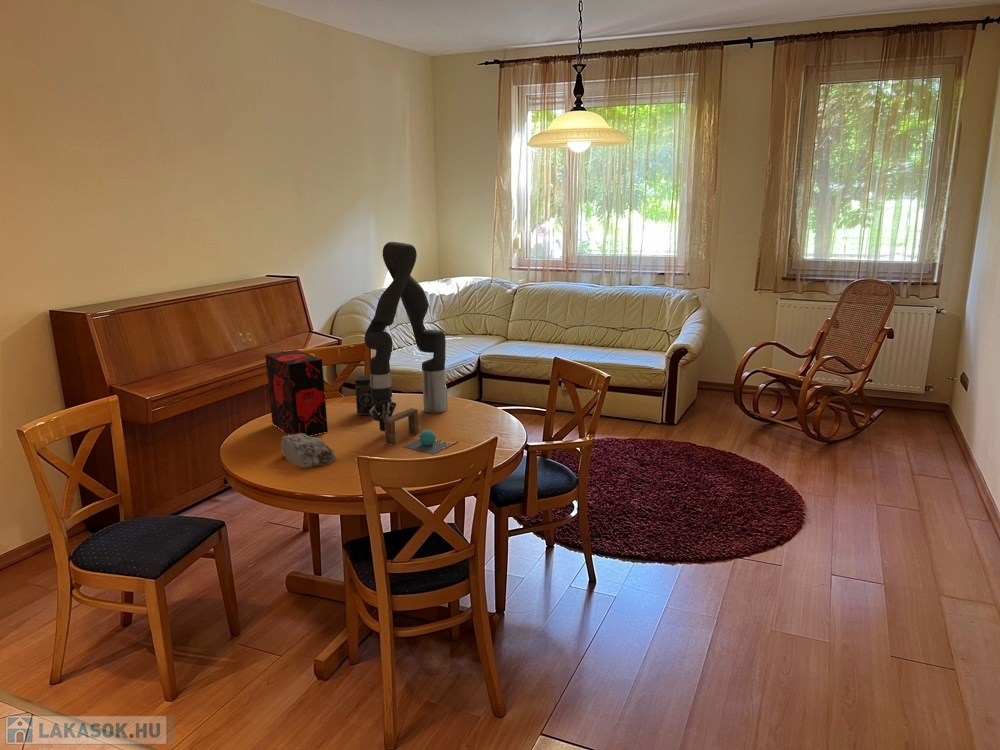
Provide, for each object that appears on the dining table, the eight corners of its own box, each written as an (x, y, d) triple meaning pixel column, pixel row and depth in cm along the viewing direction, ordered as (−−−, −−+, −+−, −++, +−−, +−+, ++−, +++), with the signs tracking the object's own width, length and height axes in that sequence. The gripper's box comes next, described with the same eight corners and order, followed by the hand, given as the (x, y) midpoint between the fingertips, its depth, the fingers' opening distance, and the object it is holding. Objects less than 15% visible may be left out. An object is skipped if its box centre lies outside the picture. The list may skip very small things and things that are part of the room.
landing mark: (427, 435, 253) (427, 435, 253) (458, 442, 246) (458, 441, 246) (402, 447, 242) (402, 446, 242) (434, 454, 234) (434, 453, 234)
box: (272, 424, 270) (265, 354, 263) (303, 418, 277) (296, 349, 270) (295, 439, 252) (288, 364, 245) (327, 432, 259) (321, 359, 253)
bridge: (385, 443, 246) (384, 418, 244) (412, 432, 258) (411, 408, 255) (392, 445, 244) (390, 419, 242) (418, 433, 256) (417, 409, 254)
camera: (382, 416, 277) (380, 380, 274) (356, 416, 278) (353, 380, 274) (387, 409, 288) (385, 373, 284) (361, 409, 288) (359, 374, 284)
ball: (430, 424, 244) (440, 435, 241) (426, 435, 247) (436, 446, 245) (418, 429, 240) (428, 440, 238) (414, 440, 243) (424, 451, 241)
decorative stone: (274, 453, 234) (279, 425, 232) (310, 451, 244) (315, 424, 242) (301, 477, 221) (307, 447, 219) (338, 474, 231) (344, 446, 229)
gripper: (385, 379, 259) (388, 424, 263) (360, 387, 248) (363, 434, 252) (401, 382, 254) (403, 427, 259) (376, 390, 244) (379, 437, 248)
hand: (383, 430), depth 255 cm, fingers closed
